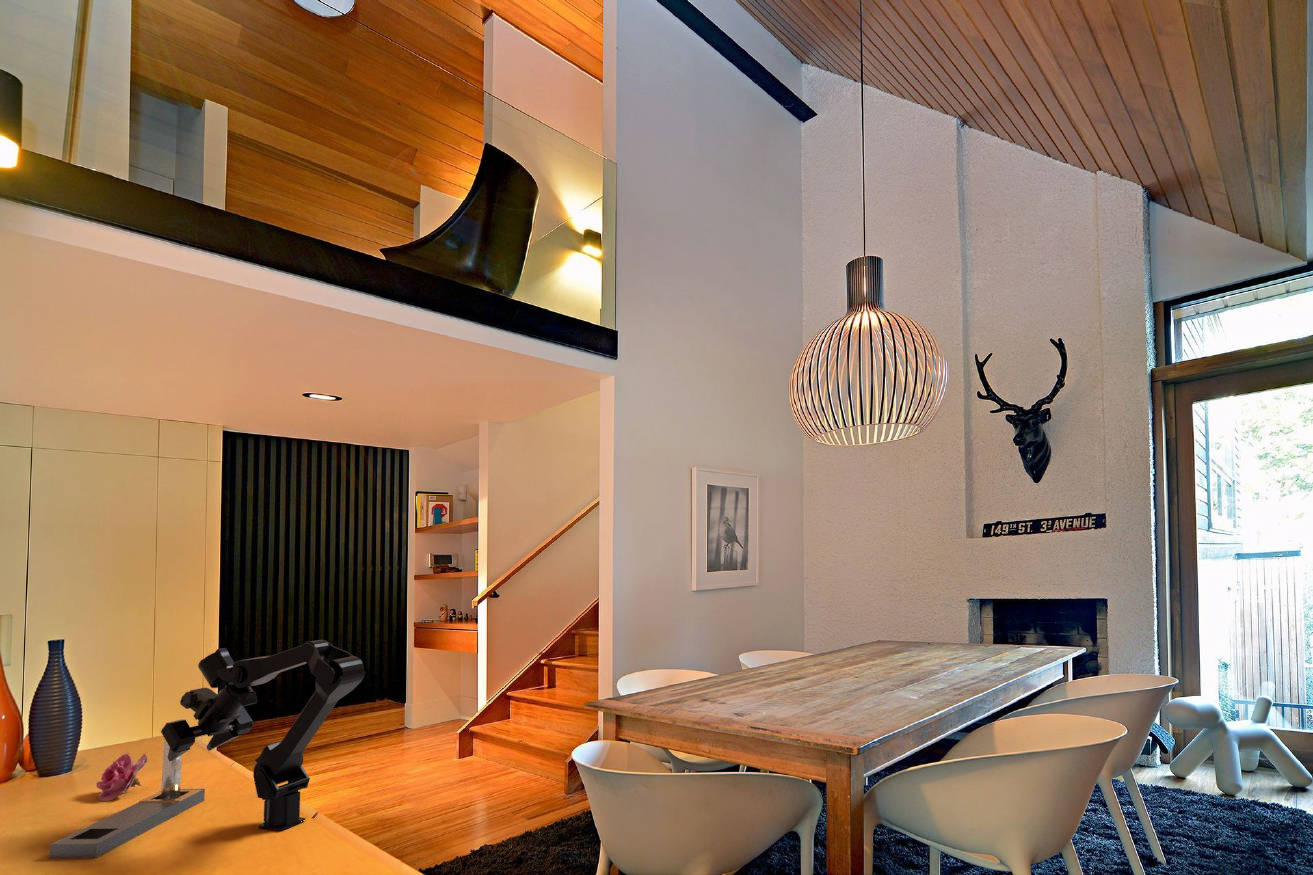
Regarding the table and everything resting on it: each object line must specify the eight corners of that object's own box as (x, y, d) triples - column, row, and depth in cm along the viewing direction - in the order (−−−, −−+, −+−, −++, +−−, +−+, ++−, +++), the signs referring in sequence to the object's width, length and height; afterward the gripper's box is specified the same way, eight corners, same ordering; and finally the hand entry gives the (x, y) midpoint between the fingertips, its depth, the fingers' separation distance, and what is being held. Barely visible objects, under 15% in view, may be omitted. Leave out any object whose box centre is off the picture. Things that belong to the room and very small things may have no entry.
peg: (178, 809, 174) (182, 742, 176) (159, 811, 172) (163, 744, 174) (179, 804, 177) (183, 739, 179) (160, 807, 176) (164, 741, 177)
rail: (96, 857, 147) (97, 842, 148) (49, 858, 148) (50, 842, 148) (204, 800, 180) (204, 787, 180) (165, 800, 180) (166, 788, 181)
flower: (102, 818, 179) (76, 782, 180) (120, 808, 189) (96, 773, 189) (150, 783, 183) (125, 747, 183) (166, 775, 192) (142, 741, 193)
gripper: (245, 669, 183) (209, 716, 186) (169, 683, 166) (130, 735, 169) (270, 706, 179) (233, 754, 182) (194, 724, 162) (154, 777, 165)
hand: (189, 754), depth 174 cm, fingers open, 9 cm apart
